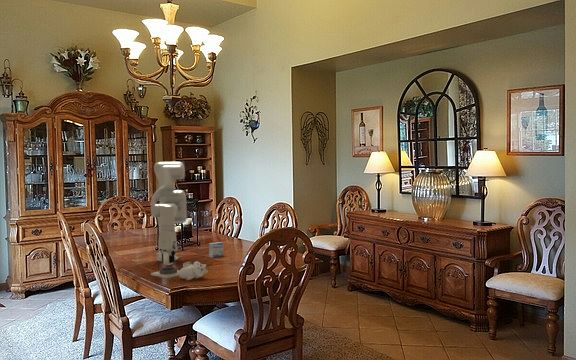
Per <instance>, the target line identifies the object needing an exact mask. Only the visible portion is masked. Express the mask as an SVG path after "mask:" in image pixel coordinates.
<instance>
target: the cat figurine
mask: <svg viewBox="0 0 576 360" xmlns="http://www.w3.org/2000/svg"><path fill="white" fill-rule="evenodd" d="M182 266H183V267H182V268H180V271H179V275H178V276H179V277H180V278H181V279H184V280H186V281H187V282H188V281H191V280H193V279H199V278H201V277H203V276H204V274H208V273H209V271H208V269H206V268H207V264H202V263H201V262H199V261H194V262H193V261H186V262H184V263H183V264H182Z"/></svg>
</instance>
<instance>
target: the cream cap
mask: <svg viewBox="0 0 576 360" xmlns="http://www.w3.org/2000/svg"><path fill="white" fill-rule="evenodd" d="M169 255H170V253H169V250H167V251H163V262H162V263H163V266H173V265H174V262H173V263H169Z"/></svg>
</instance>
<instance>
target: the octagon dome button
mask: <svg viewBox="0 0 576 360" xmlns="http://www.w3.org/2000/svg"><path fill="white" fill-rule="evenodd" d="M180 270H181V269H180ZM180 270H179V269H178V267H174V266H167V267H161V268H159V271H154V272H150V276H154V277H159V278H164V279H171V278H175V277H178V276H179V271H180Z"/></svg>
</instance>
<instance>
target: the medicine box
mask: <svg viewBox="0 0 576 360" xmlns="http://www.w3.org/2000/svg"><path fill="white" fill-rule="evenodd" d="M223 256H224V242H221V241H218V242H209V243H208V257H210V258H211V259H212V258H220V257H223Z"/></svg>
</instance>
